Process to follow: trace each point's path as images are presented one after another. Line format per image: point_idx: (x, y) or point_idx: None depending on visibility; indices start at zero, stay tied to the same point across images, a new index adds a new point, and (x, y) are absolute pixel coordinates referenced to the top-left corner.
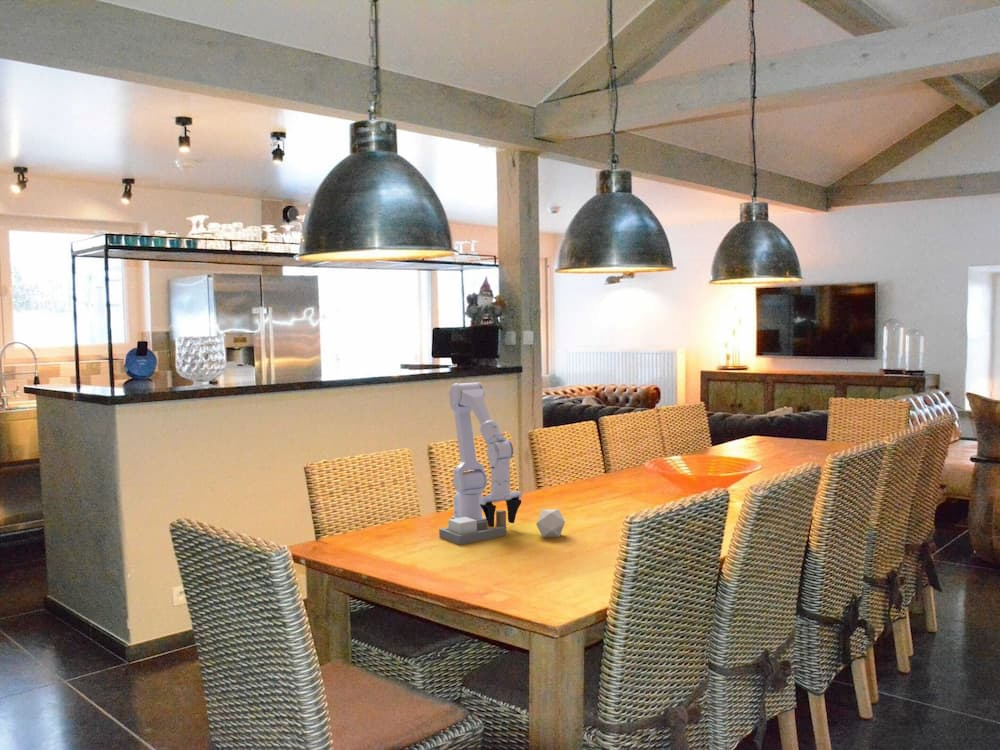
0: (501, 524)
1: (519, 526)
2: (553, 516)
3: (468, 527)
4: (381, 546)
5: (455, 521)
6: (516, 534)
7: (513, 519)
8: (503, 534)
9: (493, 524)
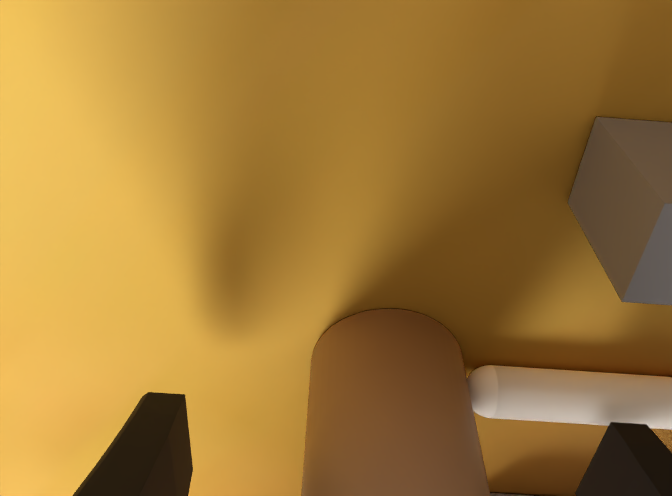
0: (450, 421)
1: (8, 372)
2: None
3: None
4: None
5: None
6: (358, 48)
7: (151, 444)
8: (651, 134)
9: (649, 457)
